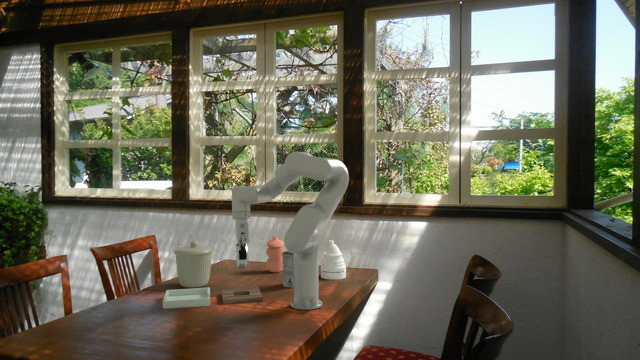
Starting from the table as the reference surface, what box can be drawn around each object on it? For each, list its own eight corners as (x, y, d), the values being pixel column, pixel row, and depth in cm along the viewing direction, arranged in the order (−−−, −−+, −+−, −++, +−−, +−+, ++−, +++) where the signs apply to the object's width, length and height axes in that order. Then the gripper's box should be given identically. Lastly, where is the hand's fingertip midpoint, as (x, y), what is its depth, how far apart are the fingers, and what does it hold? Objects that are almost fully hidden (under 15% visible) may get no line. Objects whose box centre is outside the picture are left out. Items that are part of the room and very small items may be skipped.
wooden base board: (262, 301, 188) (262, 296, 188) (223, 304, 184) (223, 299, 184) (258, 291, 204) (258, 287, 203) (221, 294, 200) (221, 289, 200)
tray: (210, 306, 182) (210, 298, 182) (162, 309, 178) (162, 301, 177) (209, 294, 199) (209, 287, 199) (166, 297, 195) (166, 290, 195)
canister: (203, 291, 204) (203, 244, 204) (166, 289, 208) (166, 243, 208) (220, 281, 222) (219, 238, 222) (185, 279, 226) (185, 237, 225)
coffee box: (292, 281, 220) (292, 248, 220) (304, 283, 217) (304, 249, 217) (282, 286, 212) (282, 252, 212) (294, 288, 209) (293, 253, 209)
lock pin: (249, 268, 191) (248, 244, 191) (237, 268, 190) (236, 244, 190) (248, 265, 196) (247, 242, 196) (236, 266, 195) (235, 243, 195)
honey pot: (316, 275, 236) (316, 240, 235) (338, 272, 241) (338, 238, 241) (327, 280, 224) (327, 244, 223) (350, 278, 229) (350, 242, 229)
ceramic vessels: (327, 278, 229) (327, 240, 229) (294, 285, 216) (293, 245, 215) (285, 267, 256) (285, 233, 255) (253, 272, 242) (253, 237, 242)
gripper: (252, 216, 186) (253, 261, 186) (248, 213, 202) (249, 254, 202) (233, 217, 184) (234, 262, 184) (231, 214, 200) (232, 255, 201)
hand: (242, 257), depth 193 cm, fingers closed on lock pin, 5 cm apart
